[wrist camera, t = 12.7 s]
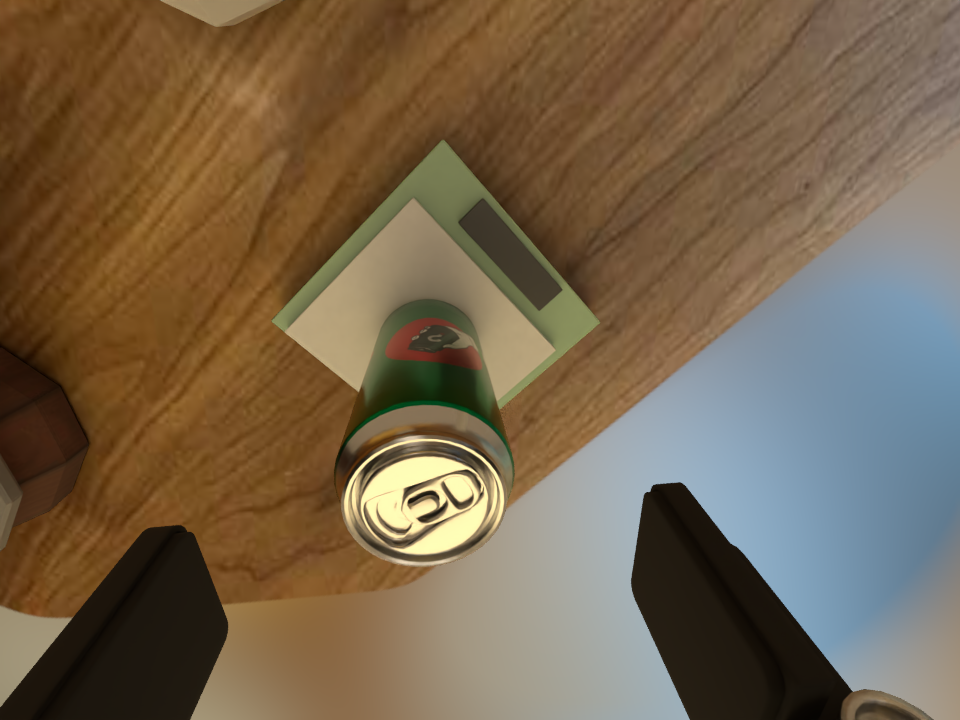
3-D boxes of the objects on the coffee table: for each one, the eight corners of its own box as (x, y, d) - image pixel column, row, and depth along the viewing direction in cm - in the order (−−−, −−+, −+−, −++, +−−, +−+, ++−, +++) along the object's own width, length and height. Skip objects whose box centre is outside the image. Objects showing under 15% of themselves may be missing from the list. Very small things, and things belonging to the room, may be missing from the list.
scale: (441, 141, 21) (443, 137, 19) (589, 312, 25) (605, 326, 23) (282, 310, 24) (266, 325, 21) (441, 441, 28) (441, 466, 25)
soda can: (358, 324, 22) (283, 478, 11) (449, 277, 21) (468, 387, 10) (410, 404, 24) (390, 603, 13) (494, 362, 23) (550, 531, 12)
